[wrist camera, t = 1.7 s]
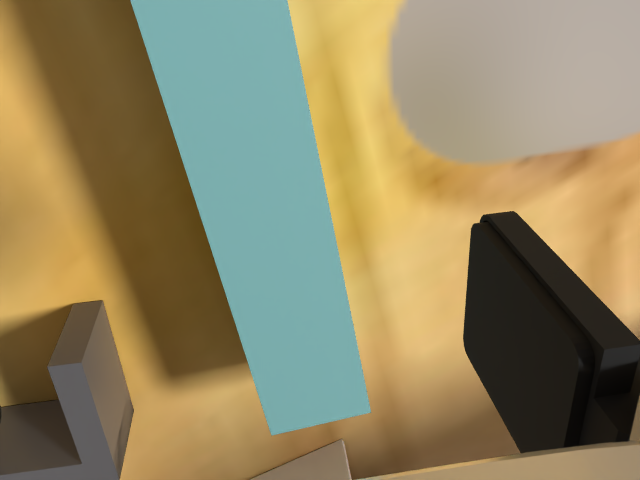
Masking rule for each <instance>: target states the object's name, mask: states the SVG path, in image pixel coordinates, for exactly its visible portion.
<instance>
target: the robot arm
mask: <svg viewBox="0 0 640 480" xmlns="http://www.w3.org/2000/svg"><path fill="white" fill-rule="evenodd" d="M463 341H464V347H465V351H466V354H467V356H468V358H469V360H470V362H471V363H472V365H473V367H474V369H475V371H476V372H477V374H478V376H479V378H480V380H481V382H482V383H483V385H484V387H485V389H486V391H487V392H488V394H489V396H490V398H491V400H492V401H493V403H494V405H495V407H496V409H497V411H498V412H499V414H500V416H501V418H502V420H503V421H504V423H505V425H506V427H507V429H508V430H509V432H510V434H511V436H512V438H513V439H514V441H515V443H516V445H517V447H518V449H519V450H520V452H521V453H520V454H514V455H508V456H502V457H496V458H489V459H482V460H476V461H469V462H462V463H456V464H450V465H443V466H437V467H431V468H425V469H418V470H412V471H406V472H400V473H393V474H387V475H381V476H375V477H368V478H362V479H356V480H640V340H639V339H638V338H637V337H636V336H635V335H634V334H633V333H632V332H631V331H630V330H629V329H628V328H627V327H626V326H625V325H624V324H623V323H622V322H621V321H620V320H619V319H618V318H617V317H616V315H615V314H614V313H613V312H612V311H611V310H610V309H609V308H608V307H607V306H606V305H605V304H604V303H603V302H602V301H601V300H600V299H599V298H598V297H597V296H596V295H595V294H594V293H593V292H592V291H591V290H590V289H589V288H588V286H587V285H586V284H585V283H584V282H583V281H582V280H581V279H580V278H579V277H578V276H577V275H576V274H575V273H574V272H573V271H572V270H571V269H570V268H569V267H568V266H567V265H566V264H565V263H564V262H563V261H562V260H561V259H560V257H559V256H558V255H557V254H556V253H555V252H554V251H553V250H552V249H551V248H550V247H549V246H548V245H547V244H546V243H545V242H544V241H543V240H542V239H541V238H540V237H539V236H538V235H537V234H536V233H535V232H534V231H533V230H532V228H531V227H530V226H529V225H528V224H527V223H526V222H525V221H524V220H523V219H522V218H521V217H520V216H519V215H518V214H517V213H516V212H514V211H510V212H502V213H494V214H486V215H483V216H482V217H481V220H480V223H475V224H473V226H472V228H471V238H470V251H469V265H468V279H467V292H466V306H465V320H464V334H463ZM0 423H1V406H0Z"/></svg>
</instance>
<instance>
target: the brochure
mask: <svg viewBox="0 0 640 480" xmlns="http://www.w3.org/2000/svg"><path fill="white" fill-rule="evenodd" d="M250 480H352V479H351V474H350V469H349V464H348V459H347V454H346V449H345V445H344V442H343V440H342V439H341V440H338V441H336V442H334V443H332V444H329V445H327V446H325V447H322V448H320V449H318V450H316V451H313V452H311V453H309V454H307V455H304V456H302V457H300V458H297V459H295V460H293V461H291V462H288V463H286V464H284V465H282V466H279V467H277V468H275V469H272V470H270V471H268V472H266V473H263V474H261V475H259V476H257V477H254V478H252V479H250Z"/></svg>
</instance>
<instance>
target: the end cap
mask: <svg viewBox="0 0 640 480" xmlns="http://www.w3.org/2000/svg"><path fill="white" fill-rule="evenodd" d="M47 368H48V371H49V373H50V376H51V379H52V382H53V384H54V387H55V390H56V393H57V396H58V398H59V400H53V401H46V402H38V403H30V404H22V405H15V406H7V407H1V423H0V480H120V475H121V470H122V466H123V461H124V456H125V451H126V446H127V441H128V436H129V431H130V427H131V422H132V417H133V412H134V409H133V405H132V402H131V398H130V395H129V391H128V388H127V384H126V381H125V377H124V374H123V370H122V367H121V363H120V360H119V356H118V352H117V349H116V345H115V342H114V338H113V335H112V331H111V328H110V324H109V321H108V317H107V314H106V310H105V307H104V303H103V300H102V301H94V302H85V303H77V304H73V306H72V308H71V311H70V313H69V316H68V318H67V320H66V323H65V325H64V328H63V330H62V332H61V335H60V337H59V340H58V342H57V344H56V347H55V349H54V352H53V354H52V357H51V359H50V361H49V364H48V366H47Z"/></svg>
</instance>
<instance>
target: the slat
mask: <svg viewBox="0 0 640 480" xmlns="http://www.w3.org/2000/svg"><path fill="white" fill-rule="evenodd" d="M130 1H131V4H132V7H133V10H134V13H135V16H136V19H137V22H138V25H139V28H140V32H141V35H142V38H143V41H144V44H145V47H146V50H147V53H148V56H149V59H150V62H151V65H152V69H153V72H154V75H155V78H156V81H157V84H158V87H159V90H160V93H161V96H162V99H163V102H164V106H165V109H166V112H167V115H168V118H169V121H170V124H171V127H172V130H173V133H174V136H175V139H176V143H177V146H178V149H179V152H180V155H181V158H182V161H183V164H184V167H185V170H186V173H187V176H188V180H189V183H190V186H191V189H192V192H193V195H194V198H195V201H196V204H197V207H198V210H199V213H200V217H201V220H202V223H203V226H204V229H205V232H206V235H207V238H208V241H209V244H210V247H211V250H212V254H213V257H214V260H215V263H216V266H217V269H218V272H219V275H220V278H221V281H222V284H223V287H224V291H225V294H226V297H227V300H228V303H229V306H230V309H231V312H232V315H233V318H234V321H235V324H236V328H237V331H238V334H239V337H240V340H241V343H242V346H243V349H244V352H245V355H246V358H247V361H248V365H249V368H250V371H251V374H252V377H253V380H254V383H255V386H256V389H257V392H258V395H259V398H260V402H261V405H262V408H263V411H264V414H265V417H266V420H267V423H268V426H269V429H270V432H271V436H272V435H276V434H280V433H285V432H289V431H293V430H298V429H302V428H306V427H311V426H315V425H319V424H323V423H328V422H332V421H336V420H341V419H345V418H349V417H354V416H358V415H362V414H367V413H371V410H370V405H369V400H368V395H367V390H366V385H365V380H364V375H363V370H362V366H361V361H360V356H359V351H358V346H357V341H356V336H355V331H354V326H353V321H352V316H351V311H350V307H349V302H348V297H347V292H346V287H345V282H344V277H343V272H342V267H341V262H340V257H339V252H338V248H337V243H336V238H335V233H334V228H333V223H332V218H331V213H330V208H329V203H328V198H327V194H326V189H325V184H324V179H323V174H322V169H321V164H320V159H319V154H318V149H317V144H316V139H315V135H314V130H313V125H312V120H311V115H310V110H309V105H308V100H307V95H306V90H305V85H304V80H303V76H302V71H301V66H300V61H299V56H298V51H297V46H296V41H295V36H294V31H293V26H292V21H291V17H290V12H289V7H288V2H287V0H130Z"/></svg>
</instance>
